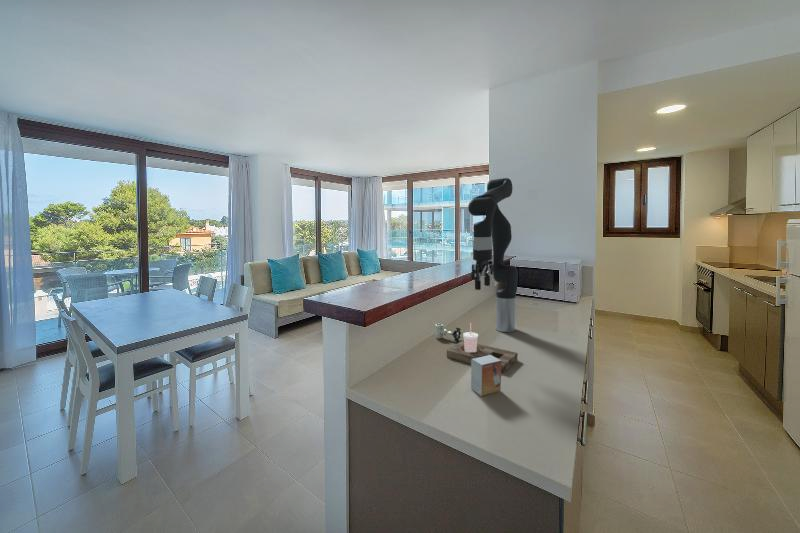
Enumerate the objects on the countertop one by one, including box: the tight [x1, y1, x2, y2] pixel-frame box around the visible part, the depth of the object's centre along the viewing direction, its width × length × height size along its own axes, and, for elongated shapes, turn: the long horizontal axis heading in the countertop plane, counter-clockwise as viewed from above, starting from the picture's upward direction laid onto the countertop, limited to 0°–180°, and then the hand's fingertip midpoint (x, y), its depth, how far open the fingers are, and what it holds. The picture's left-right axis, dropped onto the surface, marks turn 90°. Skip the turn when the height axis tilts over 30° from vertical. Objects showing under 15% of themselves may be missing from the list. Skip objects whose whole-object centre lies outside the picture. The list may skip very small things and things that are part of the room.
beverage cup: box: [462, 322, 479, 352], centre depth 131 cm, size 6×6×14 cm
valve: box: [434, 323, 462, 343], centre depth 151 cm, size 7×7×12 cm
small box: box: [470, 355, 502, 397], centre depth 104 cm, size 8×6×10 cm
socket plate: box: [446, 339, 519, 374], centre depth 128 cm, size 14×24×3 cm, turn 50°
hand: (482, 287), depth 130 cm, fingers open, 8 cm apart
